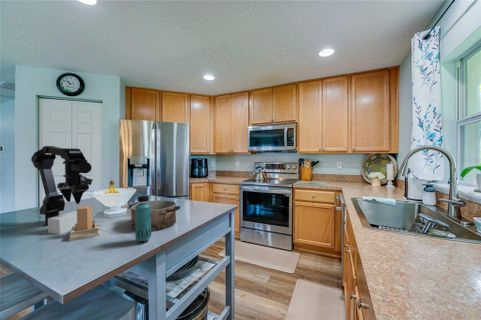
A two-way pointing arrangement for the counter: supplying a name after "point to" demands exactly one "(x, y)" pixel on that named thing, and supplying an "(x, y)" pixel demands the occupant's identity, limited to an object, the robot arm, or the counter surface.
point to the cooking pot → (158, 214)
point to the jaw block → (84, 218)
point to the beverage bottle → (143, 219)
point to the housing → (84, 232)
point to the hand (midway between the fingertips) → (73, 202)
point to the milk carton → (62, 223)
